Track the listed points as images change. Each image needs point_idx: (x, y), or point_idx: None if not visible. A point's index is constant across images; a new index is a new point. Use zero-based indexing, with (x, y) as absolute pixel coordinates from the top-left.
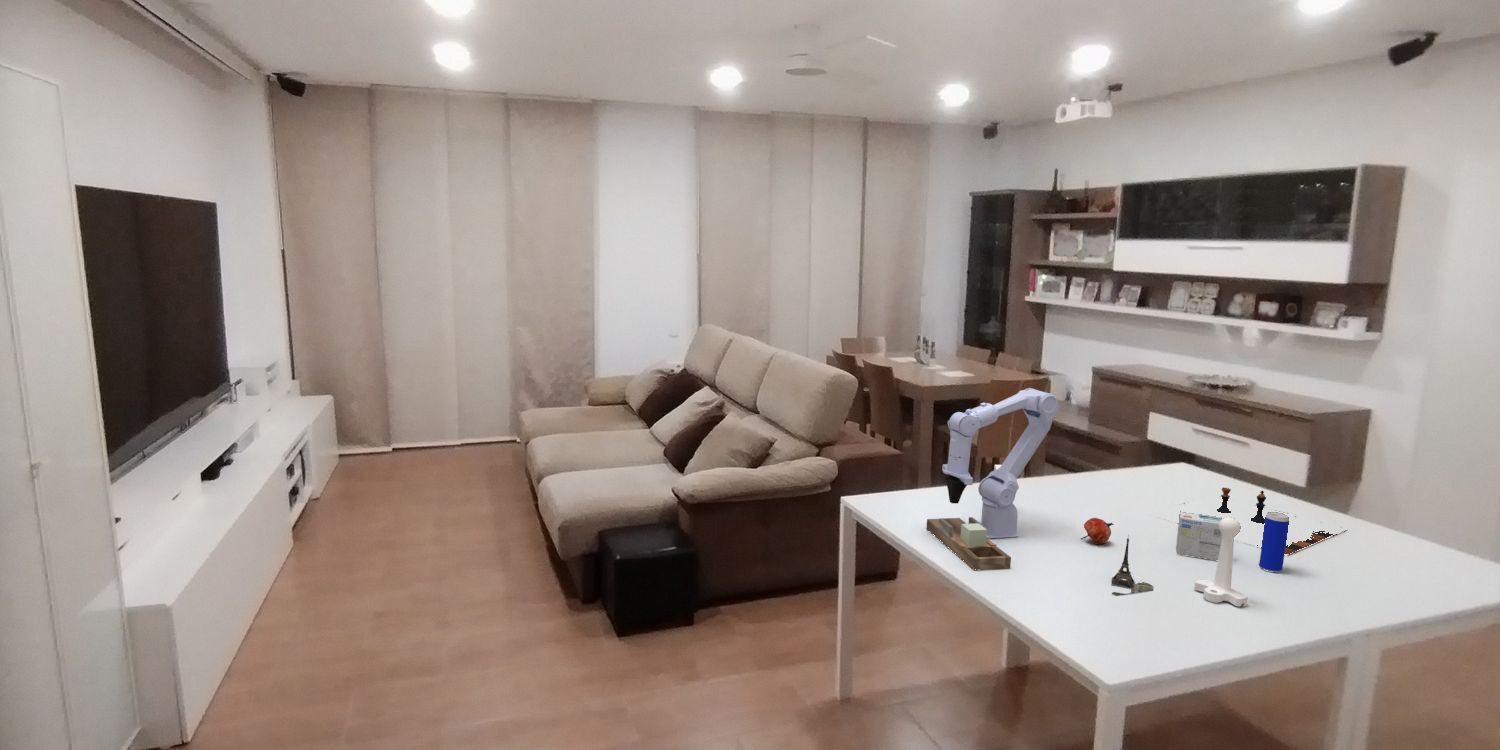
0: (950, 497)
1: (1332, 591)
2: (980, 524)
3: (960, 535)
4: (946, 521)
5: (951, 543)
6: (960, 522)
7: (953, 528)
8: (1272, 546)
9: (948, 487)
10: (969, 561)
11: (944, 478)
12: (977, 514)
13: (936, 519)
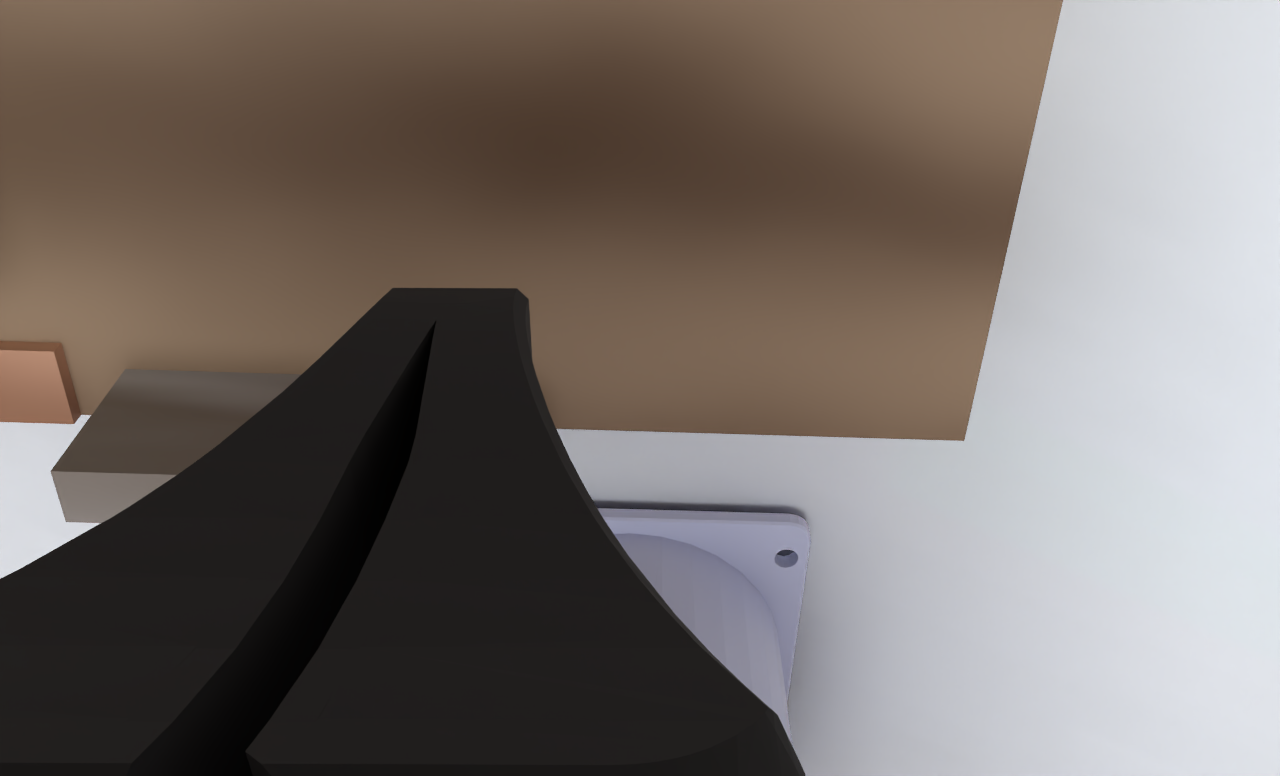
0: (394, 345)
1: None
2: (115, 498)
3: (126, 84)
4: (862, 170)
5: None
6: (757, 368)
7: (494, 128)
8: None
9: (475, 519)
10: None
11: (722, 728)
12: (1262, 740)
13: (1016, 33)
